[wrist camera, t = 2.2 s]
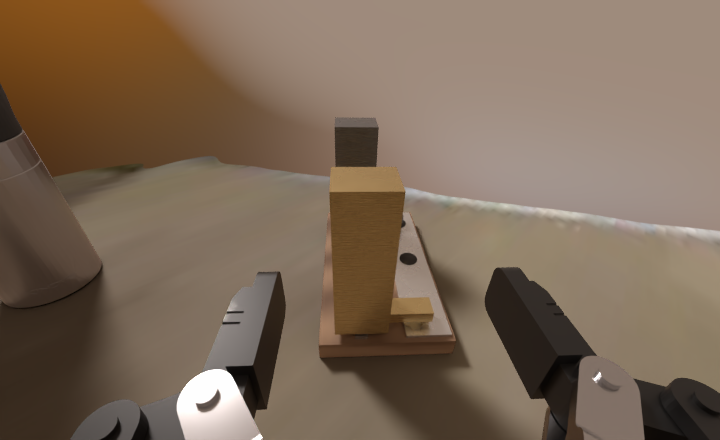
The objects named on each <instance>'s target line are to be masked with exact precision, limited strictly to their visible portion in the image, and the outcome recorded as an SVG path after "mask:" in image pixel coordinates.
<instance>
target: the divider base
mask: <svg viewBox="0 0 720 440" xmlns="http://www.w3.org/2000/svg"><path fill="white" fill-rule="evenodd" d="M377 142H378V125H377V122H376V119H375V118H335V157H336V158H335V159H336V167H376V162H377V144H378V143H377ZM416 297H429V299H430V302H431V305H432V308H433V311H434V316H433V320H432V322H398V323H389V332H388V333H376V334H343V335H335V325H334V299H333V272H332V246H331V219H330V213H328V221H327V235H326V249H325V264H324V278H323V292H322V306H321V320H320V334H319V354H320V358H327V357H357V356H386V355H415V354H445V353H452V352H453V349H454V346H455V343H456V339H455V336H454V333H453V330H452V328H451V325H450V322H449V319H448V316H447V314H446V311H445V308H444V305H443V302H442V300H441V297H440V294H439V291H438V288H437V286H436V283H435V280H434V277H433V274H432V272H431V269H430V266H429V263H428V260H427V258H426V255H425V252H424V249H423V246H422V244H421V241H420V238H419V235H418V232H417V230H416V227H415V224H414V221H413V218H412V216H411V213H410V212H403V215H402V224H401V232H400V240H399V249H398V257H397V265H396V274H395V282H394V290H393V298H416Z"/></svg>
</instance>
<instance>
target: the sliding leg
mask: <svg viewBox="0 0 720 440" xmlns="http://www.w3.org/2000/svg"><path fill="white" fill-rule="evenodd" d="M329 193H330V219H331V246H332V272H333V299H334V325H335V335H343V334H376V333H388V332H389V323H398V322H432V320H433V316H434V311H433V308H432V305H431V302H430V299H429V297H416V298H393V290H394V282H395V274H396V265H397V257H398V249H399V240H400V232H401V224H402V215H403V207H404V199H405V189H404V187H403V184H402V181H401V179H400V176H399V173H398V170H397V168H396V167H331V177H330V191H329Z"/></svg>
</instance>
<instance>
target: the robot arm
mask: <svg viewBox="0 0 720 440" xmlns="http://www.w3.org/2000/svg"><path fill="white" fill-rule="evenodd" d="M101 266H102V261H101V260H100V258H99V256H98V254H97V253H96V251H95V249H94V248H93V246H92V244H91V243H90V241H89V239H88V237H87V235H86V234H85V232H84V230H83V229H82V227H81V225H80V224H79V222H78V220H77V219H76V217H75V215H74V214H73V212H72V210H71V209H70V207H69V205H68V204H67V202H66V200H65V199H64V197H63V195H62V194H61V192H60V190H59V189H58V187H57V185H56V184H55V182H54V180H53V179H52V177H51V175H50V174H49V172H48V170H47V169H46V167H45V165H44V164H43V162H42V160H41V159H40V157H39V156H38V154H37V152H36V151H35V149H34V147H33V146H32V144H31V142H30V141H29V139H28V137H27V136H26V134H25V132H24V131H23V130H22V127H21V126H20V124H19V122H18V121H17V119H16V118H15V115H14V113H13V111H12V109H11V106H10V104H9V101H8V99H7V96H6V94H5V92H4V90H3V88H2V86H1V84H0V299H1V301H2V302H3V303H4V304H5V305H8V306H10V307H16V308H26V307H33V306H39V305H43V304H46V303H50V302H53V301H55V300H58V299H60V298H63V297H65V296H67V295H69V294H71V293H73V292H75V291H77V290H78V289H80V288H82V287H83V286H84V285H86V284H87V283H88V282H90V281H91V280H92V279H93V278H94V277H95V276H96V275H97V273H98V272H99V271H100V268H101ZM485 307H486V311H487V313H488V315H489V317H490V319H491V321H492V323H493V325H494V327H495V329H496V331H497V333H498V335H499V337H500V339H501V341H502V343H503V345H504V347H505V349H506V351H507V353H508V355H509V357H510V359H511V361H512V363H513V365H514V367H515V369H516V371H517V373H518V375H519V376H520V378H521V380H522V382H523V384H524V386H525V388H526V390H527V392H528V394H529V396H530V398H531V399H542V398H545V400H546V401H547V403H548V405H549V406H548V408H547V410H546V414H545V421H544V427H543V434H542V440H720V393H718V392H717V391H715V390H714V389H712V388H710V387H709V386H707V385H705V384H703V383H700V382H698V381H695V380H692V379H688V378H677V379H675V380H673V381H672V382H671V383H670V384H669V385H668V386H667V387H664V386H660V385H656V384H653V383H649V382H645V381H641V380H637V379H633V378H632V377H631V376H630V375H629V374H628V373H627V372H626V371H625V370H624V369H623V368H621V367H620V366H619V365H617V364H616V363H614V362H612V361H610V360H608V359H605V358H603V357H599V356H597V355H596V354H595V353H594V352H593V350H592V349H591V348H590V346H589V345H588V344H587V342H586V341H585V340H584V339H583V337H582V336H581V335H580V333H579V332H578V331H577V329H576V328H575V327H574V326H573V324H572V323H571V322H570V320H569V319H568V318H567V316H564V313H563V311H562V310H561V309H560V307H559V306H557V305H556V302H555V301H554V300H553V298H552V297H551V296H550V294H549V293H548V292H547V291H546V290H545V289H544V288H542V287H541V286H540V285H538V284H537V283H536V282H534V281H529V280H528V278H527V277H526V276H525V274H524V273H523V272H522V270H521V269H520V268H518V267H506V268H496V269H495V270H494V272H493V275H492V278H491V281H490V284H489V287H488V290H487V292H486V295H485ZM285 310H286V304H285V296H284V290H283V284H282V279H281V274H280V272H258V273H257V275H256V278H255V281H254V284H253V287H242V288H241V289H240V291H239V292H238V293H237V294H236V295H235V296H234V297H233V298H232V300H231V303H230V305H229V308H228V310H227V314H226V315H225V317H224V320H223V324H222V325H221V327H220V330H219V332H218V335H217V337H216V340H215V342H214V345H213V347H212V350H211V352H210V354H209V357H208V359H207V362H206V364H205V367H204V369H203V371H202V372H201V374H200V375H198V376H197V377H195V378H194V379H193V380H191V381H190V382H189V383H188V384H187V385H186V386H185V388H184V389H183V390H182V391H181V392H179V393H177V394H175V395H173V396H170V397H168V398H165V399H162V400H159V401H156V402H153V403H150V404H148V405H145V406H142V407H139V406H138V405H137V404H136V403H135V402H134V401H132V400H127V399H124V400H117V401H113V402H110V403H108V404H106V405H104V406H102V407H100V408H99V409H97V410H96V411H94V412H93V413H92V414H91V415H89V416H88V417H87V418H86V419H85V420H84V421H83V422H82V423H81V424H80V426H79V427H78V428H77V430H76V431H75V433H74V434H73V436H72V437H71V439H70V440H263V438H262V436H261V434H260V432H259V430H258V428H257V426H256V424H255V422H254V417H255V413H256V410H261V409H267V404H268V399H269V394H270V389H271V384H272V379H273V374H274V369H275V364H276V359H277V354H278V349H279V344H280V339H281V334H282V329H283V324H284V319H285Z"/></svg>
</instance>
